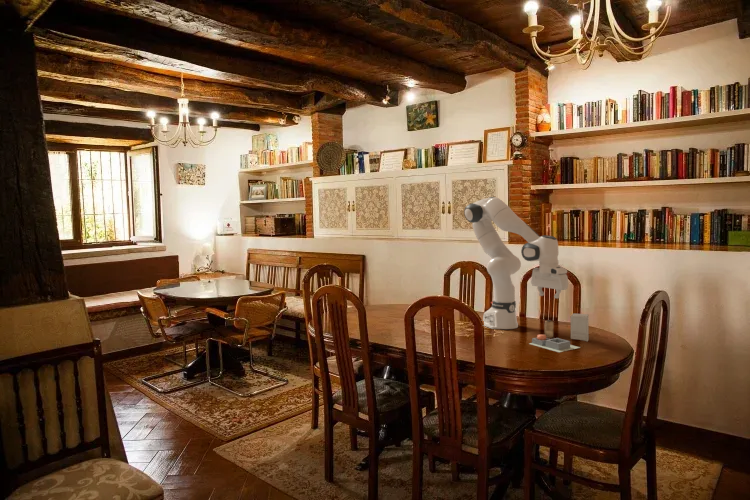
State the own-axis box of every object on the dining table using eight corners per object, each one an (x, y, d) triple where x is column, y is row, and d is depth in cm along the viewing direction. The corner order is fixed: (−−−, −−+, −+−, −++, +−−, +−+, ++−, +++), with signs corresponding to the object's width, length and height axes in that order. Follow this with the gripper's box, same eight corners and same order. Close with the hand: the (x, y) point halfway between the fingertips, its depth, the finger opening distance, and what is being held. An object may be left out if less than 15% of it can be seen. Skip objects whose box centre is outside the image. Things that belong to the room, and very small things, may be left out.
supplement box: (588, 339, 254) (589, 314, 253) (586, 343, 248) (586, 317, 247) (572, 338, 258) (573, 313, 257) (570, 341, 252) (570, 315, 251)
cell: (542, 339, 258) (542, 320, 257) (548, 338, 260) (548, 319, 259) (549, 340, 254) (549, 321, 253) (554, 339, 256) (555, 320, 255)
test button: (535, 340, 245) (535, 335, 244) (541, 338, 247) (541, 333, 246) (542, 341, 241) (542, 336, 241) (548, 340, 243) (548, 335, 243)
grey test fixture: (528, 346, 245) (528, 337, 244) (549, 342, 251) (549, 333, 251) (559, 355, 229) (559, 345, 229) (580, 350, 236) (580, 340, 235)
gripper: (528, 267, 262) (528, 294, 263) (560, 271, 244) (560, 300, 245) (537, 266, 265) (537, 293, 266) (570, 270, 247) (570, 299, 248)
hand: (549, 296), depth 255 cm, fingers open, 8 cm apart
